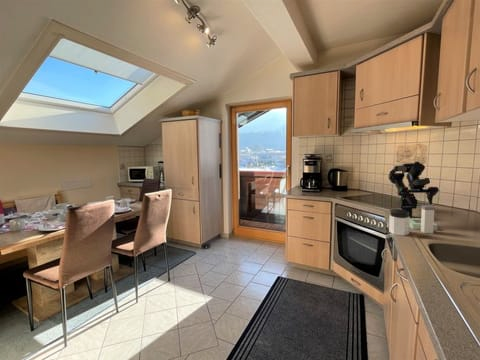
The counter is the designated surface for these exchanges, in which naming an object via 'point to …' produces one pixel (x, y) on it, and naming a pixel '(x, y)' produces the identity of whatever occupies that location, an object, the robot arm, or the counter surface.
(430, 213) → the plug
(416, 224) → the socket
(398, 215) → the jar
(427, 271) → the counter surface
